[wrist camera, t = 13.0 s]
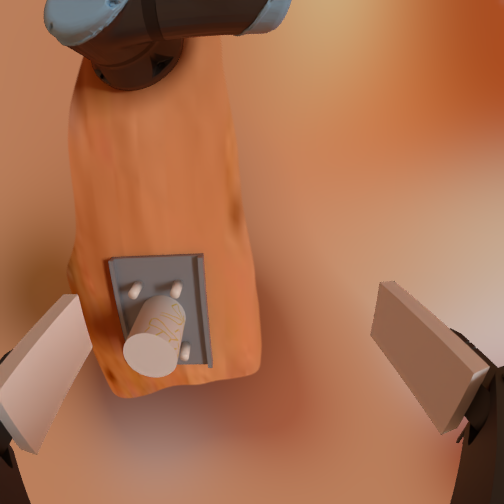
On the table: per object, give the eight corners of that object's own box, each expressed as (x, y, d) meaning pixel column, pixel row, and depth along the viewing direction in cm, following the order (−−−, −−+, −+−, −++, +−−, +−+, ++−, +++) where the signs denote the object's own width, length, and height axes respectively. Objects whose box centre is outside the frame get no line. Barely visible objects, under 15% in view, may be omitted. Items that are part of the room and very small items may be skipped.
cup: (194, 324, 52) (188, 367, 41) (157, 340, 53) (144, 383, 41) (170, 287, 50) (156, 324, 38) (132, 306, 50) (112, 344, 39)
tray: (112, 257, 48) (102, 267, 43) (203, 253, 49) (201, 263, 45) (134, 360, 55) (129, 375, 50) (212, 360, 56) (212, 377, 51)
